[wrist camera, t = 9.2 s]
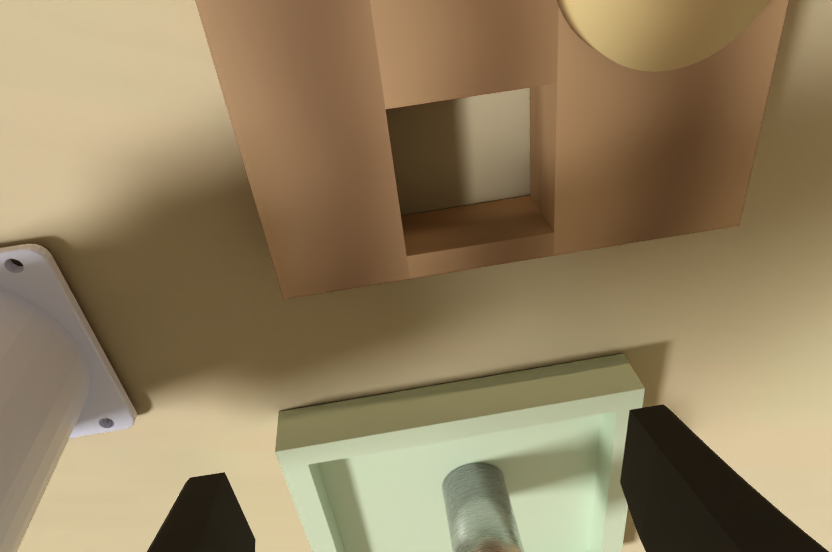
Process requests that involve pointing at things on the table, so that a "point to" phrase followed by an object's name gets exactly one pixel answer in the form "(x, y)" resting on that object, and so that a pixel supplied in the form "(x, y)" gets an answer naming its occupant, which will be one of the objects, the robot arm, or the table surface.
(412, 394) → the tray
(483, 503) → the pin
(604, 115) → the tensioner block
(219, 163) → the table surface
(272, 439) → the table surface
